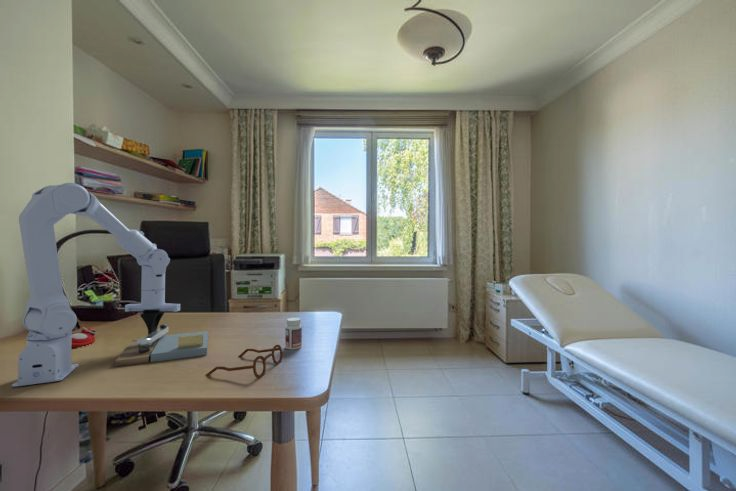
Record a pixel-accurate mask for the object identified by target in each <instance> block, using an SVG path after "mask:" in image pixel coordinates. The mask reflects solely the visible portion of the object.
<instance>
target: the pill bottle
mask: <svg viewBox="0 0 736 491" xmlns="http://www.w3.org/2000/svg"><path fill="white" fill-rule="evenodd" d="M301 321H302V320H301V318H299V317H290V318H287V319H286V326H285V330H284V331H285V334H284V335H285V336H284V337H285V341H284V343H285V344H284V345H285V349H288V350H294V351H295V350H298V349H300V348H302V343H303V342H302V341H303V340H302V339H303V338H302V334H303V333H302V332H303V331H302V329H303V327H302V325H301Z"/></svg>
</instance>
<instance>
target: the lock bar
mask: <svg viewBox="0 0 736 491" xmlns="http://www.w3.org/2000/svg"><path fill="white" fill-rule="evenodd" d="M169 328H170V327H169V326H168V324H167V323H164V324H160V325H159V328H157V330H155V331H154V332H152V333H150V334H148V333H147V335H145V336H142V337H139V338H137V339H136V340H137V347H147V346H150V345H152V342H153V341H155V340H156V339H158V338H159V337H160V338H161V336H163V335H166V334H167V333H169V331H170V330H169Z"/></svg>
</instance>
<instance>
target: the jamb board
mask: <svg viewBox="0 0 736 491" xmlns="http://www.w3.org/2000/svg"><path fill="white" fill-rule="evenodd" d="M160 338H161V337H159V338H158V339H156V340H155V341H153V342H152V345H150V346H147V347H137V339H133V340H132V341H130V343H129V344H128V345H127V347H126V348H125V349H124V350H123V351H122V352H121V353H120V355H119V356H118V357H117V358H115V362H114V366H115V368H116V367H122V366H124V367H125V366H129V365H130V366H131V365H137V364H138V365H139V364H145V363H146V364H147V363H149V362H151V353H152V351H153V350H154V348H155V346H156V345H157V343H158V341H159V340H160Z"/></svg>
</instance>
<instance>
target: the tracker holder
mask: <svg viewBox="0 0 736 491" xmlns="http://www.w3.org/2000/svg"><path fill="white" fill-rule="evenodd" d="M81 328H82V329H81V331H80V332H78V331H77V332H75V331H74V332H72V344H71V349H72V348H73V349H78V348H77V347H80V348H83V347H82V346H84V347H87V346H86V345H88V346H90V345H89V344H91V345H92V343H93V344H95V341H96V337H95V335H96V336H97V335H98V333H97V332H96V330H95V329H93V328H89V327H84V326H82V327H81Z"/></svg>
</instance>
